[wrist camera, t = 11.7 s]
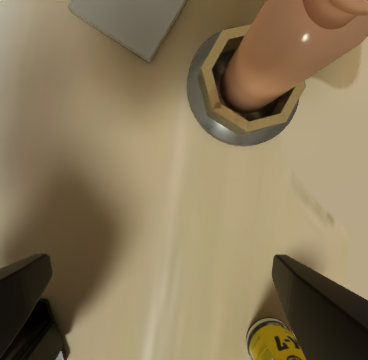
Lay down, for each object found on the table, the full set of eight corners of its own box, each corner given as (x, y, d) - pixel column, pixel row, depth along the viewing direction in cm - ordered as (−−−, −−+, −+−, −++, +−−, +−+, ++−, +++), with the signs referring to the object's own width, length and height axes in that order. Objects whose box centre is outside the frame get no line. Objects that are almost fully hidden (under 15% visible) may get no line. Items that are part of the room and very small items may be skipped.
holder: (204, 158, 20) (210, 156, 17) (173, 44, 19) (175, 24, 17) (307, 130, 21) (327, 124, 18) (281, 21, 20) (298, -2, 18)
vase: (226, 119, 19) (328, 35, 8) (213, 66, 19) (297, -110, 7) (275, 107, 20) (444, 8, 8) (263, 55, 20) (419, -129, 8)
